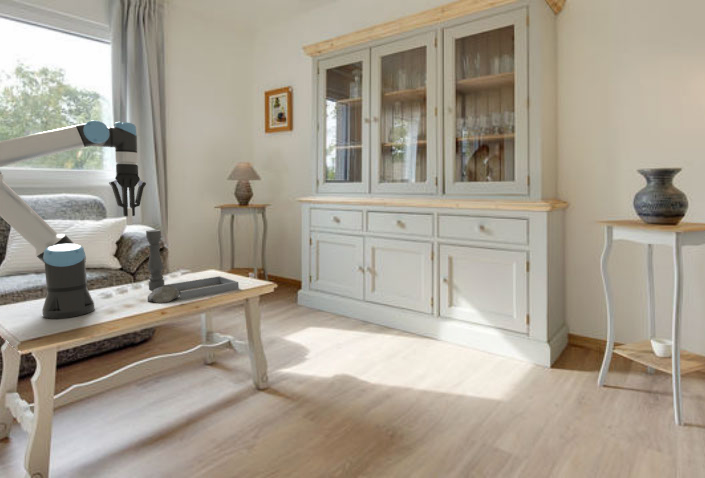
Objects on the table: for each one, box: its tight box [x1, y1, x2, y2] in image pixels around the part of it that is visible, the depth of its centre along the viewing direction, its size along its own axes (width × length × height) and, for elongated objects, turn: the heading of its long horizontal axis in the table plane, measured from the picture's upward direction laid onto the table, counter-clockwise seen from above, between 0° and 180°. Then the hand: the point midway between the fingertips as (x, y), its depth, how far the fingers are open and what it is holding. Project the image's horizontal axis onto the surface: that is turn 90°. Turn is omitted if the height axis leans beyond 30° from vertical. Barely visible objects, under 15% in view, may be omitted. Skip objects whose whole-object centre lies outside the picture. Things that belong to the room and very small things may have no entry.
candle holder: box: [145, 229, 165, 291], centre depth 184 cm, size 6×6×25 cm
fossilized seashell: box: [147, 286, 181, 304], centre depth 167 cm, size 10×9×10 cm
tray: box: [164, 275, 240, 300], centre depth 181 cm, size 25×17×3 cm
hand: (129, 224), depth 169 cm, fingers closed
